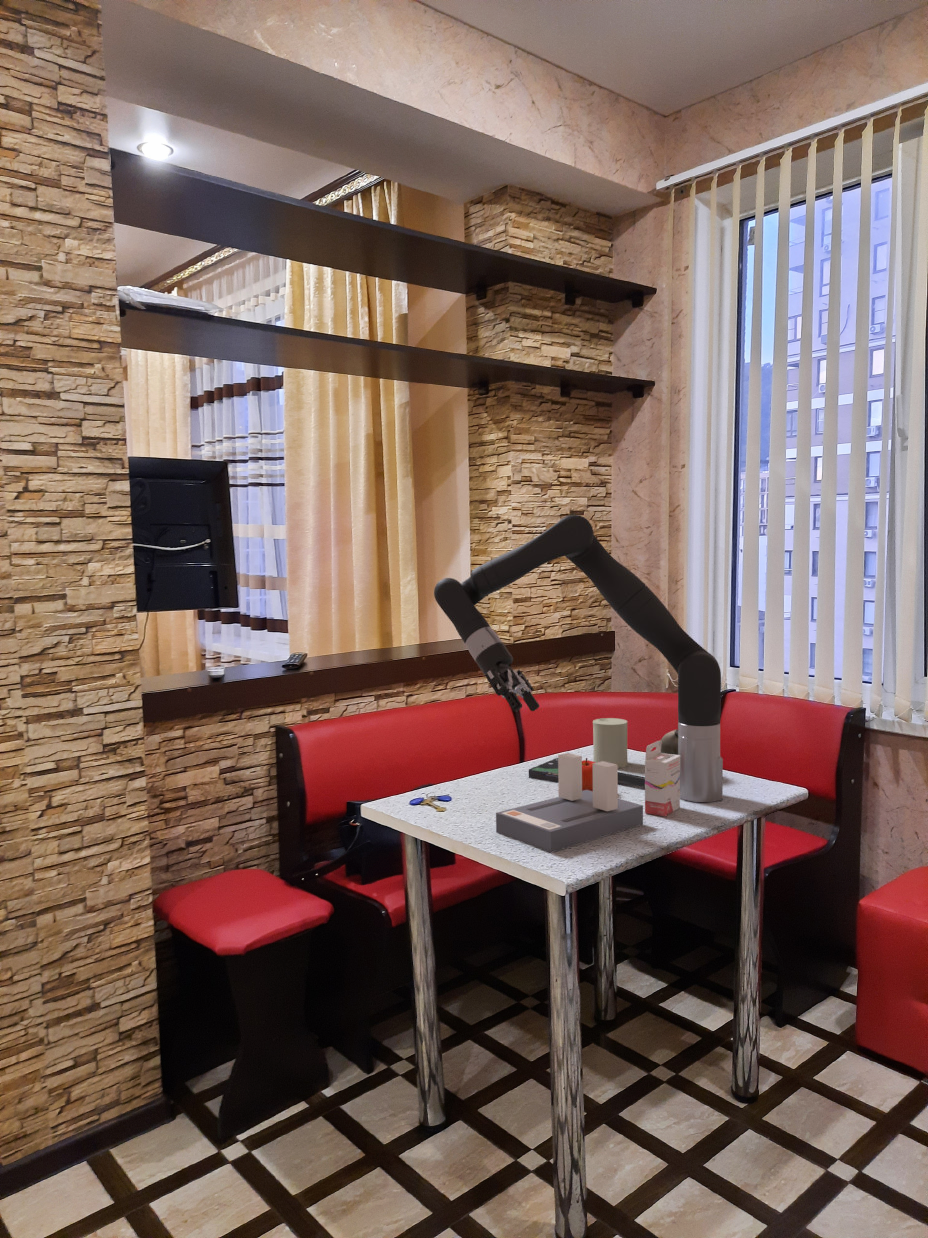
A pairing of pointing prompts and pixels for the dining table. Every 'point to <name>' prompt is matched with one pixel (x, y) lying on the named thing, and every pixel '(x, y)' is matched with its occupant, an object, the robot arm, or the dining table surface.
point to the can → (610, 741)
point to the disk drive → (545, 771)
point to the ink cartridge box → (661, 781)
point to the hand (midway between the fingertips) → (527, 709)
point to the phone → (631, 781)
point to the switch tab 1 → (570, 776)
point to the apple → (587, 775)
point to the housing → (566, 821)
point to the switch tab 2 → (605, 786)
